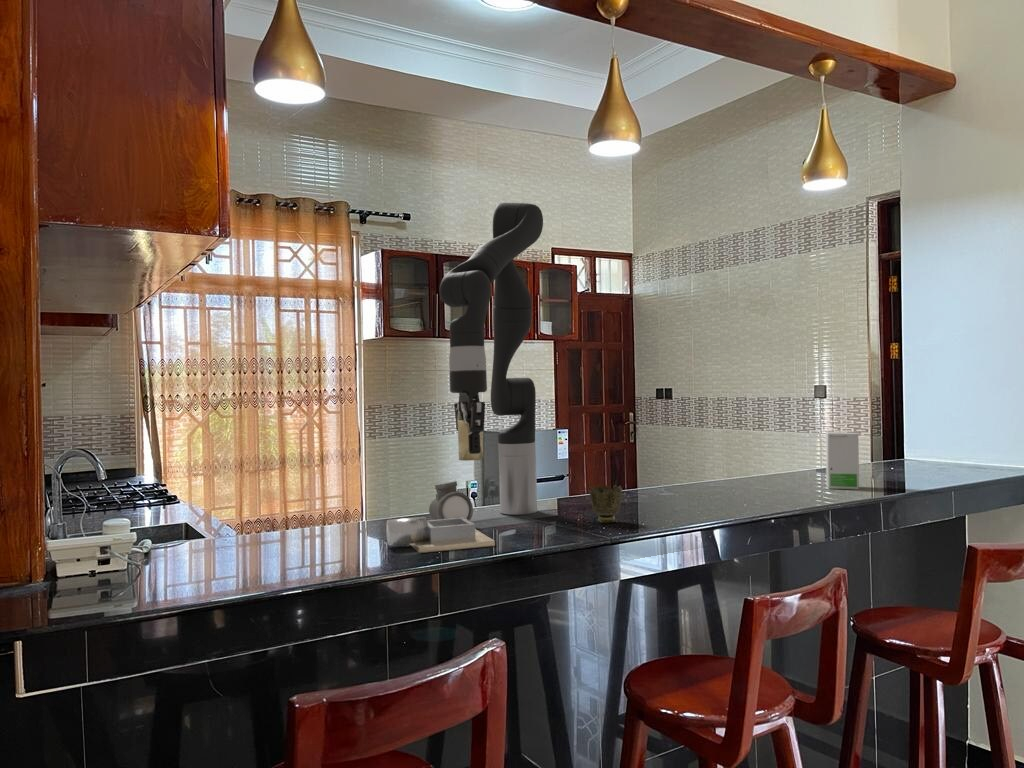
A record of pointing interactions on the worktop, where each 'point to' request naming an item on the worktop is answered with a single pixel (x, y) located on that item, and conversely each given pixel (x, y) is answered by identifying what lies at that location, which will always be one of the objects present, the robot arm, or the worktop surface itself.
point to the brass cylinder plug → (467, 443)
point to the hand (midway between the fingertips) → (470, 452)
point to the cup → (606, 502)
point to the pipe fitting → (450, 503)
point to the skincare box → (842, 460)
